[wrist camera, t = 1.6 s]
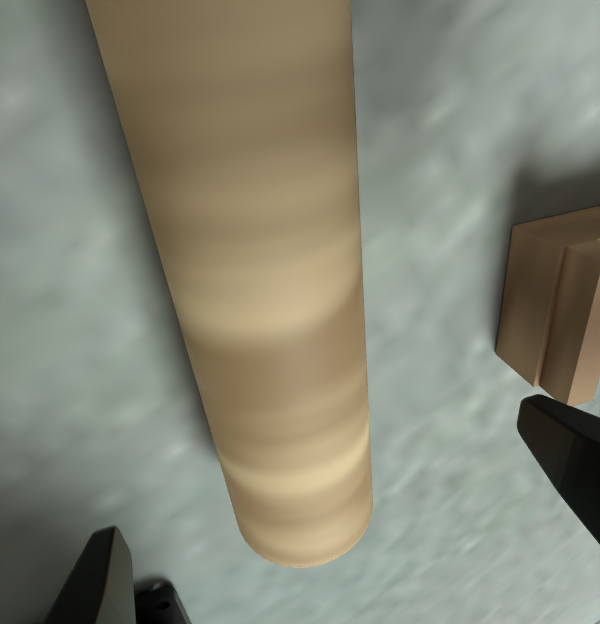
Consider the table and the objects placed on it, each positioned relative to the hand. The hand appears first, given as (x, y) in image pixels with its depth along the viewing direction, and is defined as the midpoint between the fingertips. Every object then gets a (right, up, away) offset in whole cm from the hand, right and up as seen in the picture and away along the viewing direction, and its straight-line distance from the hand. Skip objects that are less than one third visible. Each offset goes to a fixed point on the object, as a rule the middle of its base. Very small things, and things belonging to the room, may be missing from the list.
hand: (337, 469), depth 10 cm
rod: (-2, +5, +3) cm, 6 cm away
